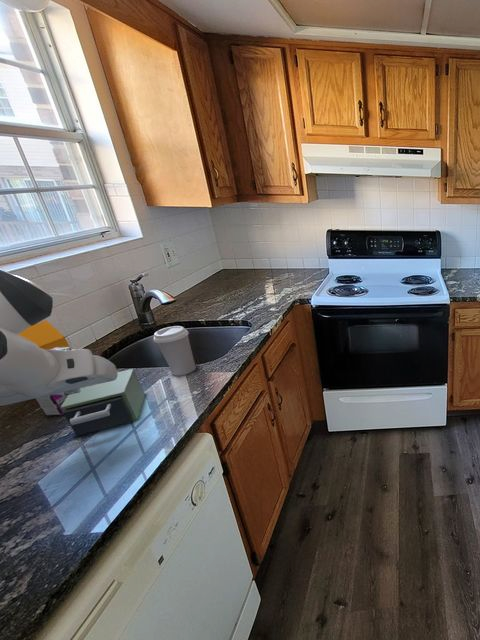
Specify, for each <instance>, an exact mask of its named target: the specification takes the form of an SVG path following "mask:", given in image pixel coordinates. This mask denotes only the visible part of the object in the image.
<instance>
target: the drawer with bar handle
mask: <svg viewBox="0 0 480 640" xmlns="http://www.w3.org/2000/svg"><path fill="white" fill-rule="evenodd" d="M63 416H64V418H66V420H67V422H68V424H69V426H70V427H71V429H72V430H73V431H72V432H74V434H75V435H76V437H79V436H82V435H86V434H90V433H93V432H97V431H100V430H105V429H108V428H112V427H115V425H116V426H119V425H123V424H126V422H127V423H130V422H133V421H132V420H133V417H132V415H131V413H130V411H129V409H128V407H127V405H126V403H125V401H124V399H123V397H122V395H121V396H116V397H112V398H108V399H104V400H100V401H96V402H92V403H88V404H84V405H80V406H76V407H72V408H71V409H70V410H65V411H64V413H63Z"/></svg>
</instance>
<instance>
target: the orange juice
mask: <svg viewBox="0 0 480 640" xmlns="http://www.w3.org/2000/svg"><path fill="white" fill-rule="evenodd" d="M18 335H20V336H22V337H24V338H26V339H28V340H30V341H32V342H33V343H35V344H36V345H37V346H39V348H42V349H45V350H51V349H53V348H55V347H70V348H71V346H70V345H69V342H68V340H67V339H66V337H65V336H64V335H63V334H62V333H61V332H60V331H59V330H58V329H56V327H54V325H52V324H51V323H50V322H49V321H48V320H42V321H40V322H38V323H37V324H35V325H33V326H30V327H28V328H27V329H25V330H24V331H22V332H21V333H19V334H18Z"/></svg>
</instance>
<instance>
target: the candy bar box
mask: <svg viewBox="0 0 480 640" xmlns="http://www.w3.org/2000/svg"><path fill="white" fill-rule="evenodd" d="M51 350H72V348H71V346H70V347H55V348H53V349H51ZM67 396H68V395H66V396H62V395H48V396H44V397H39V398H35V400H36V402H37V403H38V404H39V406H40V408H41V409H42V411H43V412H44V414H45V415H46V416H64V414H63V411H62V409H61V408H60V407H61V406H62V404H63V403H64V401H65V399H66V398H67Z"/></svg>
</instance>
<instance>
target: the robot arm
mask: <svg viewBox="0 0 480 640" xmlns="http://www.w3.org/2000/svg"><path fill="white" fill-rule="evenodd" d="M53 303H54V301H53V297H52V296H51V295H50V294H49V293H48V292H47V291H46V290H45V289H44V288H43V287H41V286H40V285H39V284H37V283H35V282H33V281H31V280H29V279H26V278H24V277H21V276H19V275H15V274H14V273H13V274H12V273H11V272H8V271H6V270H4V269H1V268H0V407H1V406H3V407H4V406H8V405H12V404H16V403H22V402H26V401H29V400H36V398H39V397H44V396H48V395H62V396H66V395H71V394H75V393H79V392H81V389H80V388H83V387H88V386H92V385H96V384H101V383H105V382H110V381H114V380H115V379H116V378H117V372H118V371H117V366H116V364H115V363H113V362H111V361H110V360H109V359H107V358H105V357H103V356H100V355H95V354H93V353H92V350H90V349H89V348H78V349H71V350H45V349H42V348H39V346H37V345H36V344H35V343H33V342H32V341H30V340H28V339H26V338H24V337H22V336H20V335H18V334H19V333H21V332H22V331H24V330H25V329H27V328H28V327H30V326H33V325H35V324H37V323H40V322H43V321H45V320H46V319H47V318H49V317H51V315H52V312H53V308H54V307H53V306H54V304H53Z"/></svg>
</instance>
